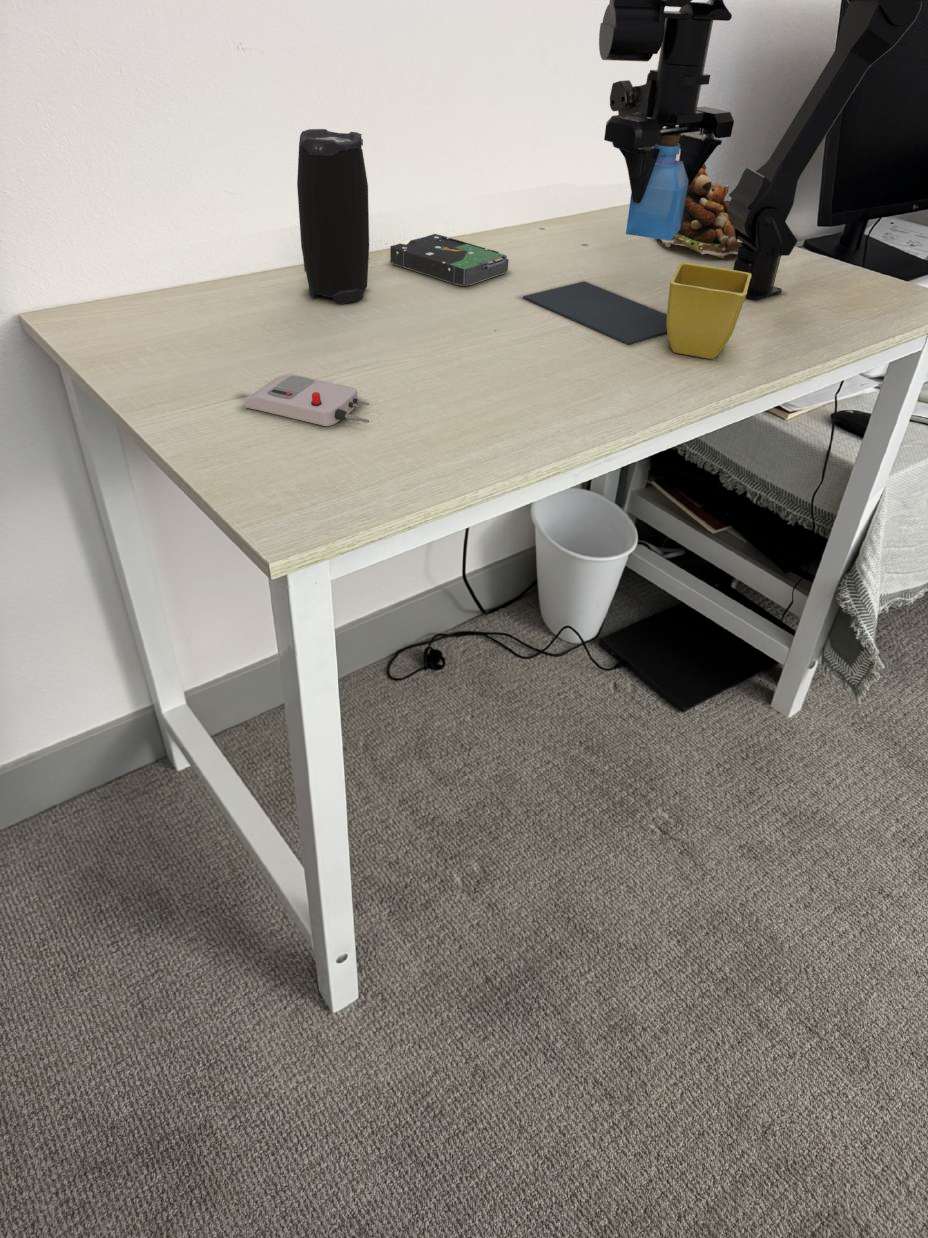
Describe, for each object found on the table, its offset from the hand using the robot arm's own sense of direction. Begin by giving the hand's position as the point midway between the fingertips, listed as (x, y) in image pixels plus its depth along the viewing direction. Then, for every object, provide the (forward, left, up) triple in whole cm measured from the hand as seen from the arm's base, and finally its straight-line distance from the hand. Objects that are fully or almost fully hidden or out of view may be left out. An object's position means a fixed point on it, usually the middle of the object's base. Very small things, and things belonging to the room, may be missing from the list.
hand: (658, 198), depth 118 cm
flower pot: (+11, +19, -13) cm, 25 cm away
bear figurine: (-25, -10, -13) cm, 30 cm away
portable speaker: (+38, -22, -13) cm, 45 cm away
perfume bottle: (0, 0, -4) cm, 4 cm away
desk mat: (+11, +3, -13) cm, 17 cm away
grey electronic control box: (+59, +6, -13) cm, 60 cm away
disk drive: (+18, -23, -13) cm, 31 cm away
